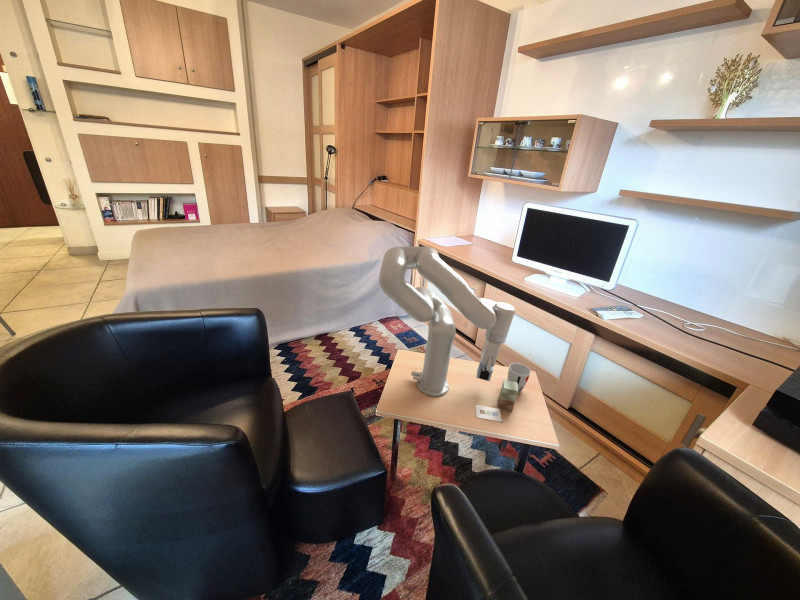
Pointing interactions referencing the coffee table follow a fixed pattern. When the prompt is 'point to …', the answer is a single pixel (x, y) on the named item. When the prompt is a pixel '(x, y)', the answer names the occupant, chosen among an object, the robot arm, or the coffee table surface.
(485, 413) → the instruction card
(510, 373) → the cup
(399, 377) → the coffee table surface
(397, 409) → the coffee table surface
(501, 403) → the tower base
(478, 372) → the blue brick
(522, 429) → the coffee table surface
